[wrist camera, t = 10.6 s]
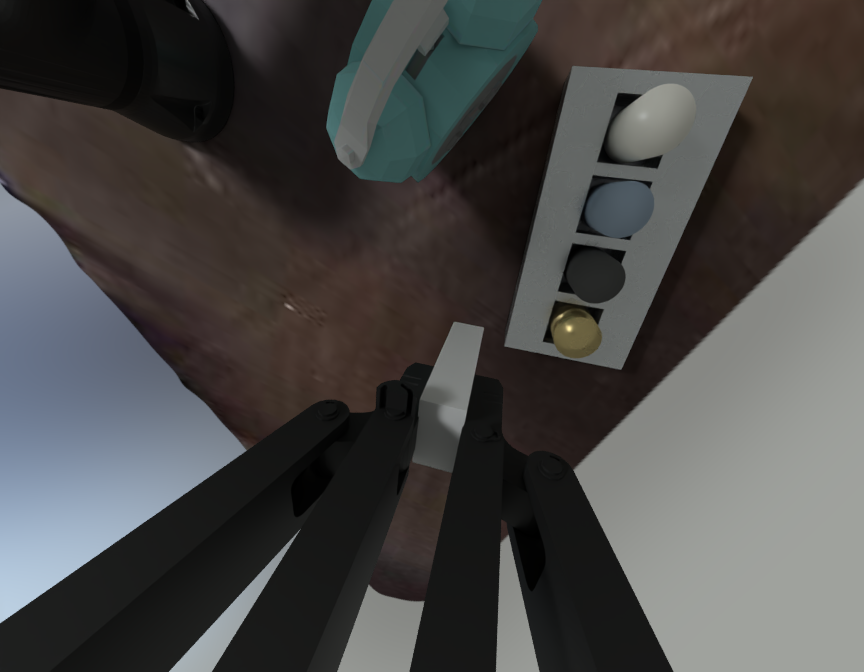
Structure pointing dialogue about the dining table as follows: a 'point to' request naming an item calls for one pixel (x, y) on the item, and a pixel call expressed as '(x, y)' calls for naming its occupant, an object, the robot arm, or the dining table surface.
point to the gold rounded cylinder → (574, 330)
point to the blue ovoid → (618, 208)
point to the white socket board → (590, 166)
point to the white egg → (651, 124)
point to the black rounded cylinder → (594, 274)
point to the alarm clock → (422, 80)
